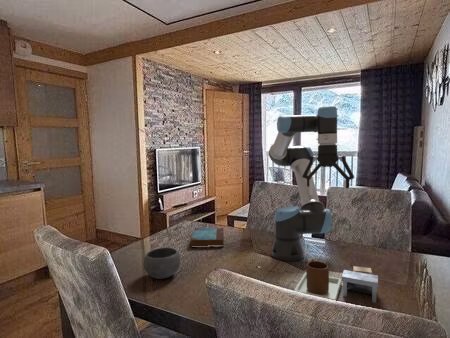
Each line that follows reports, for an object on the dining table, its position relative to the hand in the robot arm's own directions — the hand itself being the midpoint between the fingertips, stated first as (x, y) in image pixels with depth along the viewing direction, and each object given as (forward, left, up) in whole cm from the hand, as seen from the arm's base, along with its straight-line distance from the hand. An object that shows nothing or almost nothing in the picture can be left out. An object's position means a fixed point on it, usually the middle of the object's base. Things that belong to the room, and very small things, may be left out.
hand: (327, 195), depth 119 cm
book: (-67, +10, -32) cm, 75 cm away
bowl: (-60, -36, -32) cm, 77 cm away
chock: (+14, -9, -32) cm, 36 cm away
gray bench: (+13, -17, -32) cm, 38 cm away
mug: (-1, -20, -31) cm, 37 cm away
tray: (0, -20, -32) cm, 37 cm away
